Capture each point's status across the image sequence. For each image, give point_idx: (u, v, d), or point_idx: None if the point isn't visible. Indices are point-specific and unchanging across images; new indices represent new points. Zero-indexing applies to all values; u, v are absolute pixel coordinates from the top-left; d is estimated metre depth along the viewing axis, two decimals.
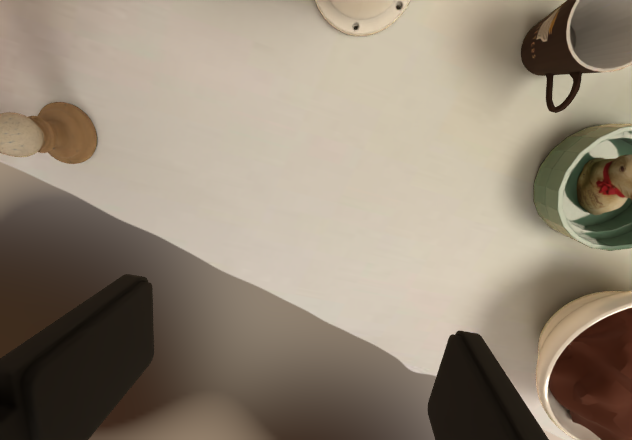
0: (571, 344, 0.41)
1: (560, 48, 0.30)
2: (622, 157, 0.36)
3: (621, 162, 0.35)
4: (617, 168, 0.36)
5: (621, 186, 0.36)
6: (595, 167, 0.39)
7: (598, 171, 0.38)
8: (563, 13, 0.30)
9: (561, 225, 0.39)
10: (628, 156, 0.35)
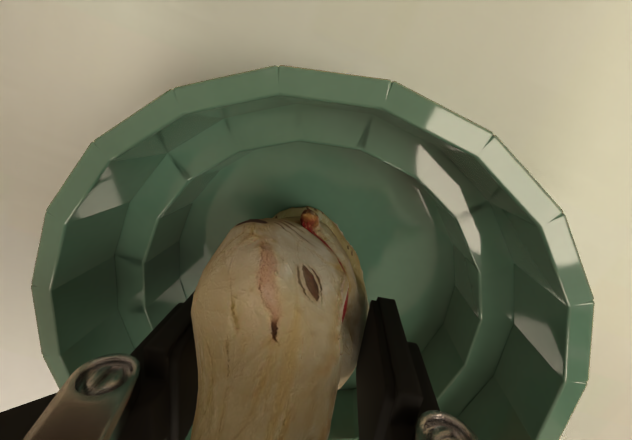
0: None
1: None
2: (228, 233, 0.08)
3: None
4: None
5: None
6: None
7: None
8: None
9: None
10: (232, 233, 0.07)
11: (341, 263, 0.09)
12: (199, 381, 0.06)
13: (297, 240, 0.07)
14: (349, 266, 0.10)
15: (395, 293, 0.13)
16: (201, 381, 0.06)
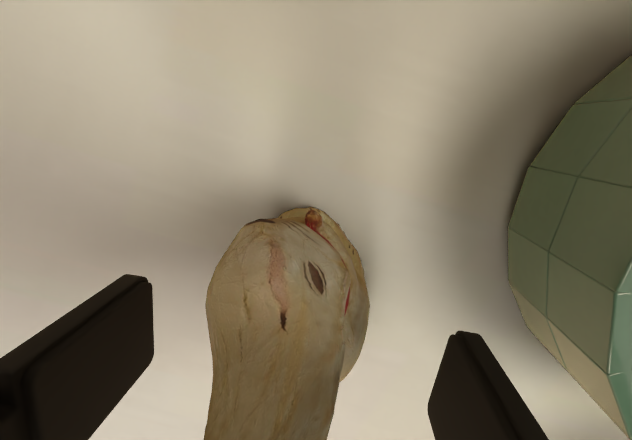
0: None
1: None
2: None
3: None
4: None
5: None
6: None
7: None
8: None
9: (620, 427, 0.09)
10: (243, 232, 0.08)
11: (343, 261, 0.10)
12: (214, 367, 0.07)
13: (303, 239, 0.08)
14: (351, 264, 0.10)
15: None
16: (216, 367, 0.07)
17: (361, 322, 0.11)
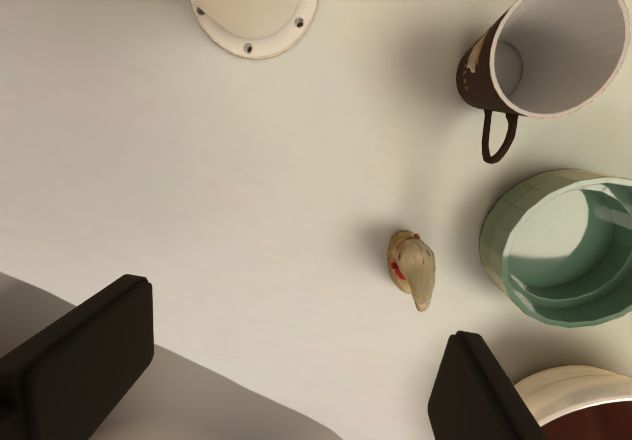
0: None
1: (486, 84, 0.23)
2: (403, 241, 0.30)
3: (401, 247, 0.30)
4: (397, 254, 0.30)
5: None
6: (392, 245, 0.34)
7: (393, 250, 0.33)
8: (488, 38, 0.22)
9: (508, 296, 0.31)
10: (407, 241, 0.30)
11: None
12: (407, 273, 0.29)
13: (421, 243, 0.30)
14: None
15: (586, 243, 0.34)
16: (408, 272, 0.29)
17: None
